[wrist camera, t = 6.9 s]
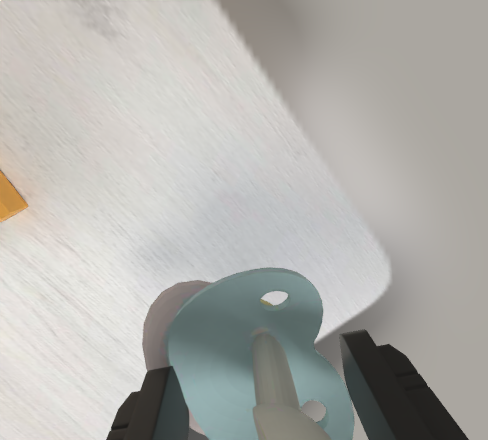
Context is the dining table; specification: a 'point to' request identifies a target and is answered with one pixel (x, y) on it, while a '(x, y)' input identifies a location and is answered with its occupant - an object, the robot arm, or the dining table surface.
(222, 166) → the dining table surface
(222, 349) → the pacifier
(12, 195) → the wooden stick
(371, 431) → the robot arm
